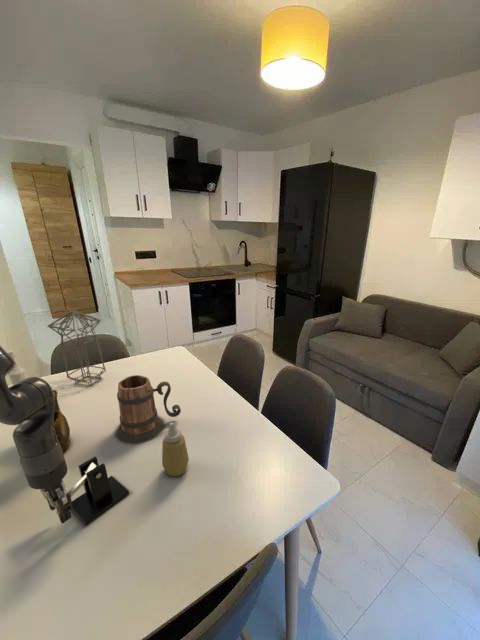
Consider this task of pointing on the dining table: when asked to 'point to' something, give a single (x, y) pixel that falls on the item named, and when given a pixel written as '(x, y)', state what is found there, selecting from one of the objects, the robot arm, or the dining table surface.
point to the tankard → (140, 409)
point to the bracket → (97, 492)
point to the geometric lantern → (82, 316)
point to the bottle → (16, 370)
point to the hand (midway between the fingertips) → (61, 513)
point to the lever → (81, 480)
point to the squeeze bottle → (174, 452)
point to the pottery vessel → (61, 426)
